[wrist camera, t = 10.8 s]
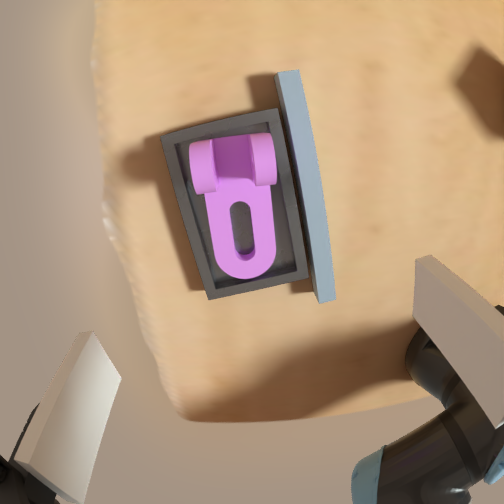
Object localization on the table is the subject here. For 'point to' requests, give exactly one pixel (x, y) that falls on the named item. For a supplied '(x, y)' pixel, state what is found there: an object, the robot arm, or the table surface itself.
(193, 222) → the shallow rectangular tray
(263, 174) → the bracket
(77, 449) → the robot arm
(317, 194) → the door edge
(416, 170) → the table surface
